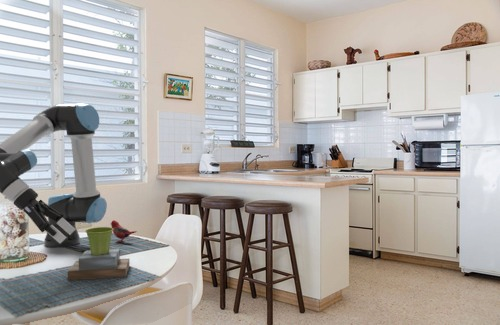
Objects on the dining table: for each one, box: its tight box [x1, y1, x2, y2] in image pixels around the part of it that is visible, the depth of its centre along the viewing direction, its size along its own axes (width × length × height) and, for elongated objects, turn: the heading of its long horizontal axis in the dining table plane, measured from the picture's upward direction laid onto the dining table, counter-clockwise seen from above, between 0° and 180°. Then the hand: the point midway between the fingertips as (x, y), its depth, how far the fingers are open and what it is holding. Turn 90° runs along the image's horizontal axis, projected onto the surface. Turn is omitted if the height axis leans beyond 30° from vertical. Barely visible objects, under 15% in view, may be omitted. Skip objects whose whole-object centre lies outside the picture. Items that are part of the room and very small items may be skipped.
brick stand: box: [67, 248, 130, 281], centre depth 147 cm, size 13×19×7 cm
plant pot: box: [85, 226, 113, 255], centre depth 146 cm, size 9×9×9 cm
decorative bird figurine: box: [110, 220, 138, 243], centre depth 194 cm, size 3×18×10 cm, turn 59°
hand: (68, 236), depth 144 cm, fingers open, 13 cm apart
